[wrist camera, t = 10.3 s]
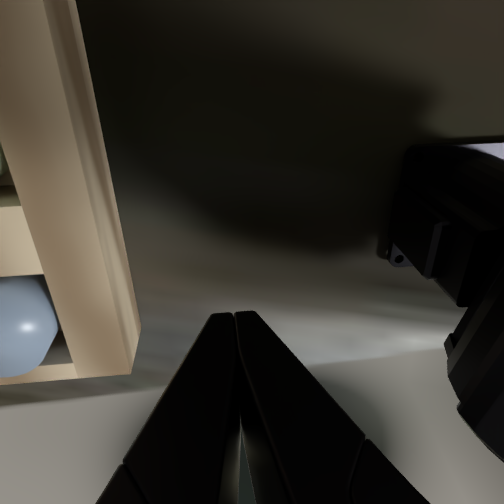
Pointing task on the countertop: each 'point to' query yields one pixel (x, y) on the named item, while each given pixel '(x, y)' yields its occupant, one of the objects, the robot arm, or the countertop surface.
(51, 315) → the blue button
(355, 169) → the countertop surface
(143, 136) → the countertop surface
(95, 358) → the button panel
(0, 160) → the green button
